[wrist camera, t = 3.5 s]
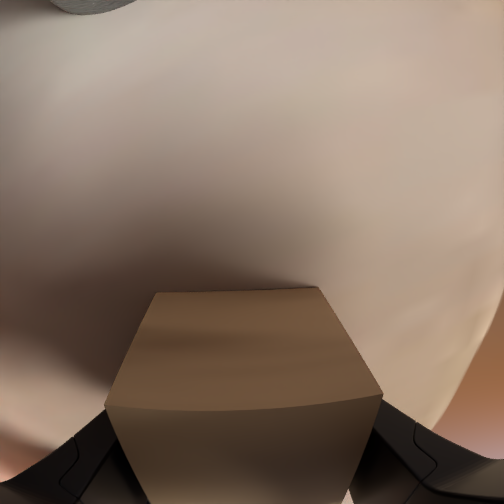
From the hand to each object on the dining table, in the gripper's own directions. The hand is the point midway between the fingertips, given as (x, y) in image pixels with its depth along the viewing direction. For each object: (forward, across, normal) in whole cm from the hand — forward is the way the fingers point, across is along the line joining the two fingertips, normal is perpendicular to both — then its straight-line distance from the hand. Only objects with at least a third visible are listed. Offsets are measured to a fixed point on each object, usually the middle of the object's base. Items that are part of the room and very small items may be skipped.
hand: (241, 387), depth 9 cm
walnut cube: (+2, 0, 0) cm, 2 cm away
